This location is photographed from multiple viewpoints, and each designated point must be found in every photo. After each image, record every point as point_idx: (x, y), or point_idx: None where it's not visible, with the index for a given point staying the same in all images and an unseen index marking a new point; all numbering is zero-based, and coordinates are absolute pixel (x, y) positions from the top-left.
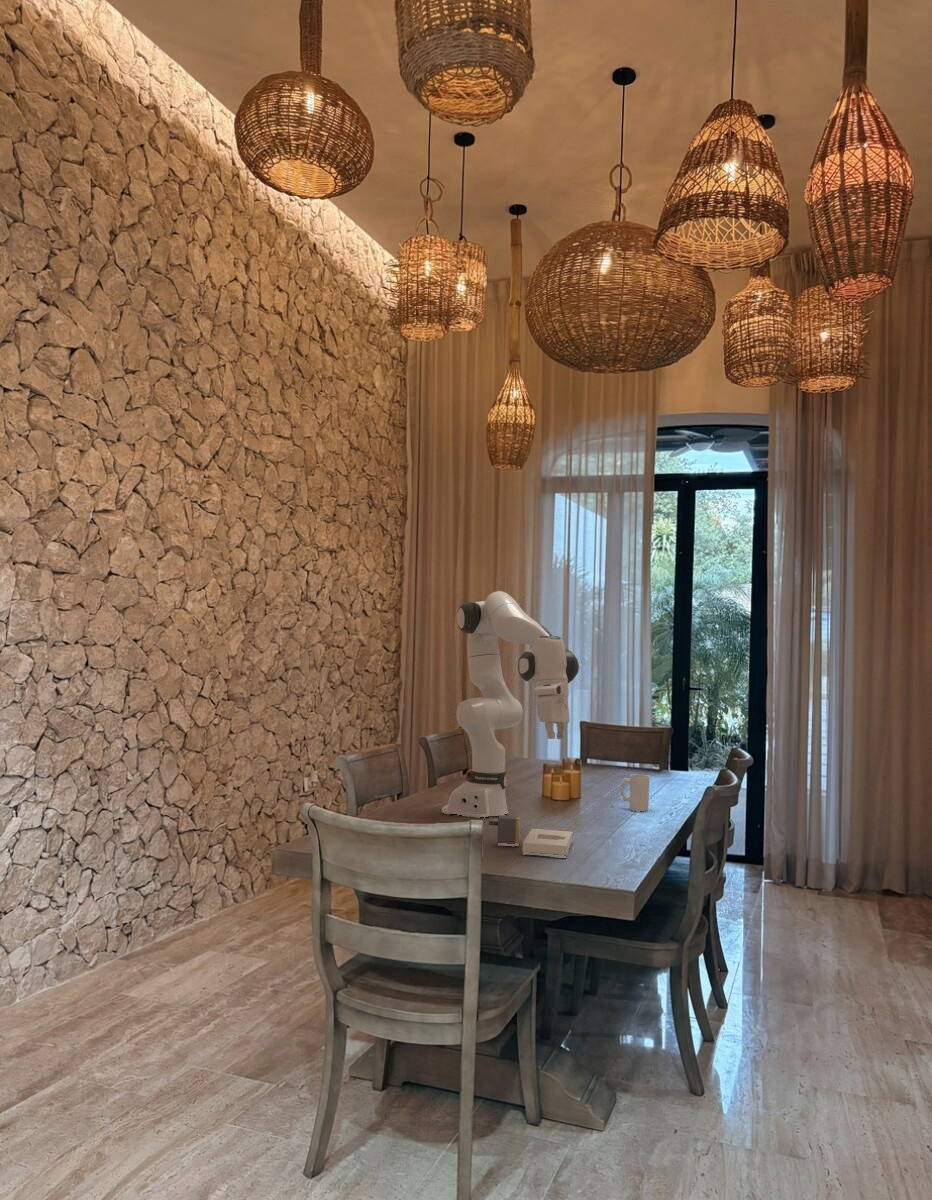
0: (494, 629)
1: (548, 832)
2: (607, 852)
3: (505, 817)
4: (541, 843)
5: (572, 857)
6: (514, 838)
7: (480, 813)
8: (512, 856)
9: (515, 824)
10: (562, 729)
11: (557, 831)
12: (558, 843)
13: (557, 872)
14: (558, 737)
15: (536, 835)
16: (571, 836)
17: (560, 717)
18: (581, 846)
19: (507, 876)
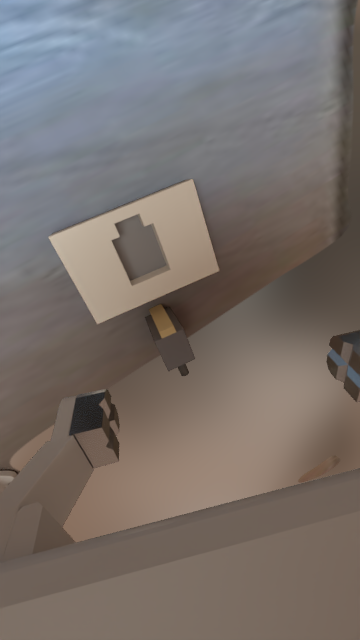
0: None
1: (102, 278)
2: (59, 115)
3: (180, 352)
4: (204, 236)
5: (163, 173)
6: (173, 313)
7: (3, 488)
8: (226, 274)
9: (176, 325)
10: (48, 482)
11: (76, 268)
12: (182, 206)
13: (283, 146)
14: (116, 418)
15: (147, 282)
16: (76, 225)
17: (356, 563)
18: (56, 203)
19: (338, 211)
